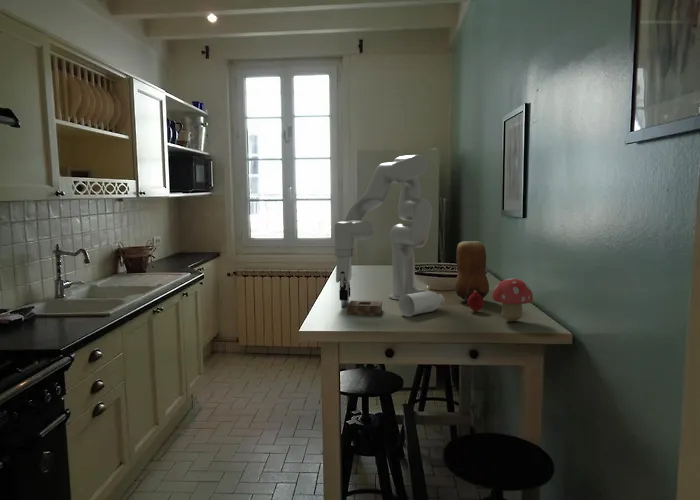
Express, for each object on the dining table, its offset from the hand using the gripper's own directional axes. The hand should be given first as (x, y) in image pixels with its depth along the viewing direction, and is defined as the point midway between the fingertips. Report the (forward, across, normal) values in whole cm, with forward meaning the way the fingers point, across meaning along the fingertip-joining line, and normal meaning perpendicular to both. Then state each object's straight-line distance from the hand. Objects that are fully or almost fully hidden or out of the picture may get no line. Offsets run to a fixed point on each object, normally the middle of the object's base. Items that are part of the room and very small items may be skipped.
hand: (345, 298), depth 206 cm
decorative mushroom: (+4, +18, +61) cm, 64 cm away
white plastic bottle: (+4, +7, +30) cm, 31 cm away
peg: (+4, 0, 0) cm, 4 cm away
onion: (+4, +4, +50) cm, 50 cm away
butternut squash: (+4, -15, +50) cm, 52 cm away
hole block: (+4, +9, +9) cm, 13 cm away
